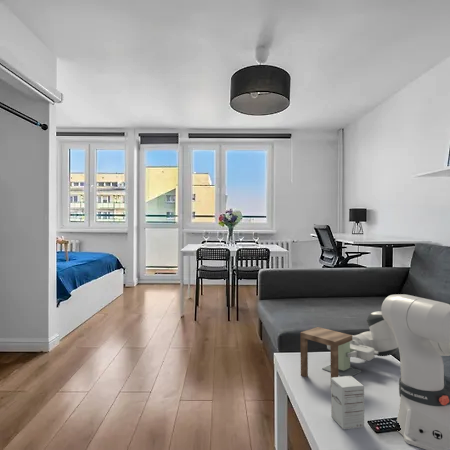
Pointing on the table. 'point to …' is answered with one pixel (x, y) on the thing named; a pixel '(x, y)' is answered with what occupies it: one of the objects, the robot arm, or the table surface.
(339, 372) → the slate mat
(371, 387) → the table surface
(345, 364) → the sage block
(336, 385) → the supplement box
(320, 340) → the shelf stand
